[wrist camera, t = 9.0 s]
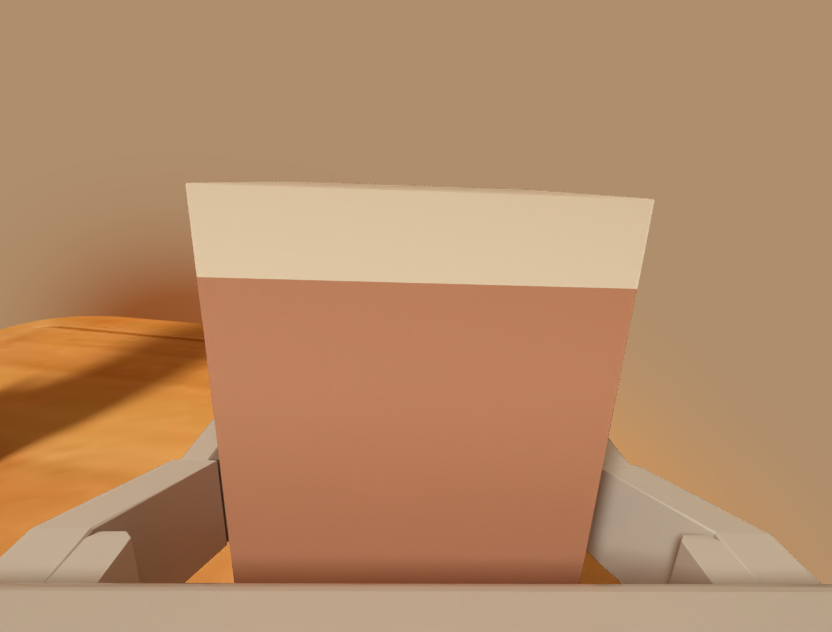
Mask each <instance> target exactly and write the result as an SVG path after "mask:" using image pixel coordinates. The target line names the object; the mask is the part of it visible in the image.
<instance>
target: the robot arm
mask: <svg viewBox="0 0 832 632" xmlns="http://www.w3.org/2000/svg"><path fill="white" fill-rule="evenodd" d="M227 542H229V535H228V527H227V518H226V510H225V502H224V494H223V486H222V478H221V470H220V461H219V453H218V445H217V437H216V429H215V421H214V419H213V420H212V421H211V422H210V424H209V425H208V426H207V427H206V429H205V430H204V431H203V432H202V434H201V435H200V436H199V437H198V439H197V440H196V441H195V442H194V444H193V445H192V446H191V447H190V449H189V450H188V451H187V452H186V454H185V455H184V456H183V457H182V459H181V460H171V461H169V462H167V463H165V464H163V465H161V466H159V467H157V468H155V469H153V470H151V471H149V472H147V473H145V474H143V475H140V476H138V477H136V478H134V479H132V480H130V481H128V482H126V483H124V484H122V485H120V486H118V487H116V488H114V489H112V490H110V491H108V492H105V493H103V494H101V495H99V496H97V497H95V498H93V499H91V500H89V501H87V502H85V503H83V504H81V505H79V506H77V507H75V508H72V509H70V510H68V511H66V512H64V513H62V514H60V515H58V516H56V517H54V518H52V519H50V520H48V521H46V522H44V523H42V524H40V525H37V526H35V527H33V528H31V529H30V530H29V531H28V532H27V533H26V534H25V535H24V536H23V537H22V538H21V539H19V540H18V541H17V542H16V543H15V544H14V545H13V546H12V547H11V548H10V549H9V550H8V551H7V552H5V553H4V554H3V555H2V556H1V557H0V632H832V585H826V584H821V583H820V582H819V581H818V580H817V579H816V578H815V577H814V576H813V575H812V574H811V573H810V572H809V571H808V570H807V569H806V568H805V567H804V566H803V565H802V564H800V562H799V561H797V560H796V559H795V558H794V557H793V556H792V555H791V554H790V553H789V552H788V551H787V550H786V549H785V548H784V547H783V546H782V545H781V544H780V543H779V542H778V541H777V540H776V539H775V538H774V537H773V536H772V535H771V534H769V533H767V532H765V531H763V530H761V529H759V528H757V527H755V526H753V525H751V524H749V523H748V522H745V521H744V520H742V519H740V518H738V517H736V516H734V515H732V514H730V513H728V512H726V511H724V510H722V509H720V508H719V507H716V506H715V505H713V504H711V503H709V502H707V501H705V500H703V499H701V498H699V497H697V496H695V495H693V494H691V493H689V492H688V491H686V490H684V489H682V488H680V487H678V486H676V485H674V484H672V483H670V482H668V481H666V480H664V479H663V478H661V477H659V476H657V475H655V474H653V473H651V472H649V471H647V470H645V469H643V468H641V467H639V466H631V465H630V464H629V463H628V462H627V461H626V459H625V458H624V457H623V456H622V454H621V453H620V452H619V451H618V450H617V448H616V447H615V446H614V444H613V443H612V442H611V441H610V440H609V438H608V441H607V446H606V452H605V457H604V462H603V467H602V472H601V477H600V482H599V487H598V493H597V498H596V503H595V508H594V513H593V518H592V523H591V528H590V534H589V539H588V544H587V549H586V551H587V552H588V553H589V554H590V555H591V556H592V557H593V558H595V559H596V560H597V561H598V562H599V563H600V564H601V565H602V566H603V567H604V568H605V569H606V570H608V571H609V572H610V573H611V574H612V575H613V576H614V577H615V578H616V579H617V580H618V581H619V582H620V583H622V584H350V583H185V582H186V581H187V580H188V579H189V578H190V577H192V576H193V575H194V574H195V573H196V572H197V571H198V570H199V569H200V568H202V567H203V566H204V565H205V564H206V563H207V562H208V561H209V560H210V559H212V558H213V557H214V556H215V555H216V554H217V553H218V552H219V551H221V550H222V549H223V548H224V547H225V546H226V545H227Z"/></svg>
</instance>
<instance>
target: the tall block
mask: <svg viewBox="0 0 832 632" xmlns="http://www.w3.org/2000/svg"><path fill="white" fill-rule="evenodd" d="M186 193H187V201H188V208H189V217H190V225H191V233H192V241H193V250H194V258H195V266H196V274H197V282H198V290H199V298H200V307H201V315H202V322H203V331H204V339H205V347H206V356H207V364H208V372H209V380H210V388H211V396H212V404H213V413H214V421H215V429H216V437H217V445H218V453H219V461H220V470H221V478H222V486H223V494H224V502H225V510H226V518H227V527H228V535H229V543H230V551H231V559H232V567H233V575H234V583H350V584H580V580H581V575H582V569H583V564H584V559H585V554H586V549H587V544H588V539H589V534H590V528H591V523H592V518H593V513H594V508H595V503H596V498H597V493H598V487H599V482H600V477H601V472H602V467H603V462H604V457H605V452H606V446H607V441H608V436H609V431H610V426H611V420H612V416H613V410H614V405H615V400H616V395H617V390H618V385H619V380H620V374H621V370H622V364H623V359H624V354H625V348H626V344H627V339H628V334H629V328H630V323H631V318H632V313H633V308H634V302H635V298H636V293H637V287H638V282H639V277H640V272H641V267H642V262H643V257H644V252H645V247H646V241H647V236H648V231H649V226H650V221H651V216H652V211H653V205H654V199H643V198H631V197H618V196H605V195H593V194H580V193H567V192H554V191H542V190H529V189H503V188H474V187H446V186H444V187H443V186H416V185H387V184H360V183H332V182H331V183H330V182H329V183H328V182H302V181H287V182H225V183H224V182H223V183H186Z"/></svg>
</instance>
